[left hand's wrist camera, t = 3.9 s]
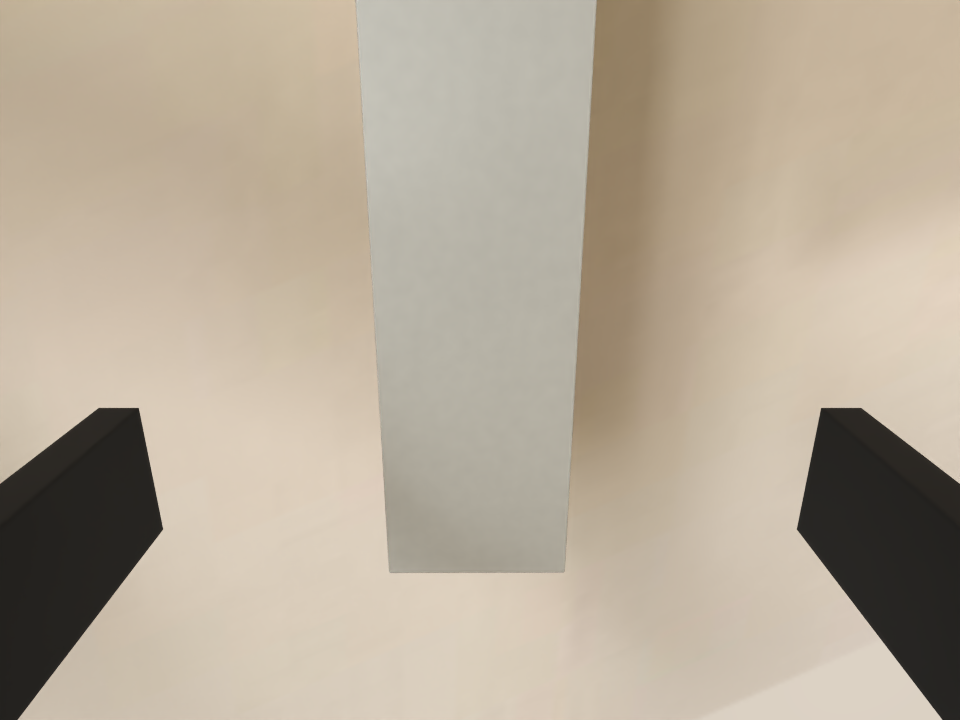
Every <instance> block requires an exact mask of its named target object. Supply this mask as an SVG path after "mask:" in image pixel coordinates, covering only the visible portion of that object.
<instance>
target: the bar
mask: <svg viewBox="0 0 960 720" xmlns="http://www.w3.org/2000/svg"><path fill="white" fill-rule="evenodd" d="M596 7H597V0H356V15H357V33H358V50H359V67H360V84H361V101H362V118H363V135H364V152H365V169H366V186H367V203H368V220H369V237H370V254H371V271H372V288H373V305H374V322H375V340H376V357H377V374H378V391H379V408H380V425H381V442H382V459H383V476H384V493H385V510H386V527H387V544H388V561H389V572H390V573H541V572H564V571H565V558H566V541H567V523H568V505H569V487H570V470H571V452H572V434H573V416H574V398H575V381H576V363H577V345H578V327H579V310H580V292H581V274H582V256H583V238H584V221H585V203H586V185H587V167H588V150H589V132H590V114H591V96H592V78H593V61H594V43H595V25H596Z"/></svg>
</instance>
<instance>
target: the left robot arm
mask: <svg viewBox="0 0 960 720" xmlns="http://www.w3.org/2000/svg"><path fill="white" fill-rule="evenodd" d="M162 530H163V527H162V522H161V517H160V512H159V507H158V502H157V497H156V492H155V487H154V482H153V477H152V472H151V467H150V462H149V457H148V452H147V447H146V442H145V437H144V432H143V427H142V422H141V417H140V412H139V408H98V409H97V410H96V411H94V412H93V413H92V414H91V415H89V416H88V417H87V418H85V419H84V420H83V421H81V422H80V423H79V424H78V425H76V426H75V427H74V428H72V429H71V430H70V431H68V432H67V433H66V434H65V435H63V436H62V437H61V438H59V439H58V440H57V441H55V442H54V443H53V444H52V445H50V446H49V447H48V448H46V449H45V450H44V451H42V452H41V453H40V454H39V455H37V456H36V457H35V458H33V459H32V460H31V461H29V462H28V463H27V464H26V465H24V466H23V467H22V468H20V469H19V470H18V471H16V472H15V473H14V474H13V475H11V476H10V477H9V478H7V479H6V480H5V481H3V482H2V483H1V484H0V720H18V718H19V717H20V716H21V714H22V713H23V712H24V711H25V709H26V708H27V707H28V705H29V704H30V703H31V701H32V700H33V699H34V697H35V696H36V695H37V694H38V692H39V691H40V690H41V688H42V687H43V686H44V684H45V683H46V682H47V680H48V679H49V678H50V677H51V675H52V674H53V673H54V671H55V670H56V669H57V667H58V666H59V665H60V663H61V662H62V661H63V660H64V658H65V657H66V656H67V654H68V653H69V652H70V650H71V649H72V648H73V646H74V645H75V644H76V643H77V641H78V640H79V639H80V637H81V636H82V635H83V633H84V632H85V631H86V629H87V628H88V627H89V626H90V624H91V623H92V622H93V620H94V619H95V618H96V616H97V615H98V614H99V612H100V611H101V610H102V609H103V607H104V606H105V605H106V603H107V602H108V601H109V599H110V598H111V597H112V595H113V594H114V593H115V592H116V590H117V589H118V588H119V586H120V585H121V584H122V582H123V581H124V580H125V578H126V577H127V576H128V575H129V573H130V572H131V571H132V569H133V568H134V567H135V565H136V564H137V563H138V561H139V560H140V559H141V558H142V556H143V555H144V554H145V552H146V551H147V550H148V548H149V547H150V546H151V544H152V543H153V542H154V541H155V539H156V538H157V537H158V535H159V534H160V533H161V531H162ZM797 530H798V531H799V533H800V534H801V535H802V537H803V538H804V539H805V541H806V542H807V543H808V544H809V546H810V547H811V548H812V550H813V551H814V552H815V554H816V555H817V556H818V558H819V559H820V560H821V561H822V563H823V564H824V565H825V567H826V568H827V569H828V571H829V572H830V573H831V575H832V576H833V577H834V578H835V580H836V581H837V582H838V584H839V585H840V586H841V588H842V589H843V590H844V592H845V593H846V594H847V595H848V597H849V598H850V599H851V601H852V602H853V603H854V605H855V606H856V607H857V609H858V610H859V611H860V612H861V614H862V615H863V616H864V618H865V619H866V620H867V622H868V623H869V624H870V626H871V627H872V628H873V629H874V631H875V632H876V633H877V635H878V636H879V637H880V639H881V640H882V641H883V643H884V644H885V645H886V646H887V648H888V649H889V650H890V652H891V653H892V654H893V656H894V657H895V658H896V660H897V661H898V662H899V663H900V665H901V666H902V667H903V669H904V670H905V671H906V673H907V674H908V675H909V677H910V678H911V679H912V680H913V682H914V683H915V684H916V686H917V687H918V688H919V690H920V691H921V692H922V693H923V695H924V696H925V697H926V699H927V700H928V701H929V703H930V704H931V705H932V707H933V708H934V709H935V710H936V712H937V713H938V714H939V716H940V717H941V718H942V720H960V484H959V483H958V482H957V481H955V480H954V479H953V478H951V477H950V476H949V475H947V474H946V473H945V472H944V471H942V470H941V469H940V468H938V467H937V466H936V465H934V464H933V463H932V462H931V461H929V460H928V459H927V458H925V457H924V456H923V455H921V454H920V453H919V452H918V451H916V450H915V449H914V448H912V447H911V446H910V445H908V444H907V443H906V442H905V441H903V440H902V439H901V438H899V437H898V436H897V435H895V434H894V433H893V432H892V431H890V430H889V429H888V428H886V427H885V426H884V425H882V424H881V423H880V422H879V421H877V420H876V419H875V418H873V417H872V416H871V415H869V414H868V413H867V412H866V411H864V410H863V409H862V408H821V412H820V417H819V422H818V427H817V432H816V437H815V442H814V447H813V452H812V457H811V462H810V467H809V472H808V477H807V482H806V487H805V492H804V497H803V502H802V507H801V512H800V517H799V522H798V527H797Z"/></svg>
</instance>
